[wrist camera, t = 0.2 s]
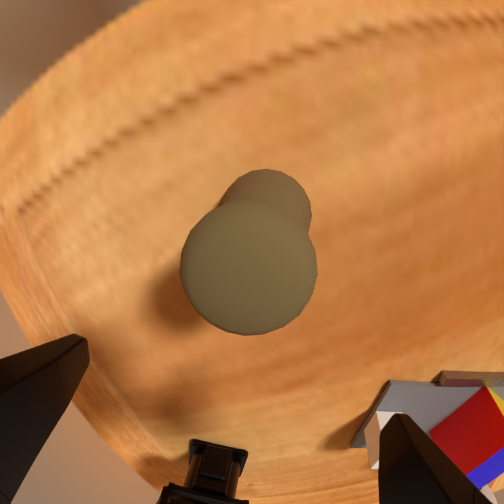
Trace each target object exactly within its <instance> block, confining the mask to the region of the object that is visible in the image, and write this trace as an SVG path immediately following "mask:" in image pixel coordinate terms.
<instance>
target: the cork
mask: <svg viewBox="0 0 504 504" xmlns="http://www.w3.org/2000/svg"><path fill="white" fill-rule="evenodd" d="M311 217H312V214H311V206H310V201H309V199H308V197H307V195H306V192H305V190H304V189H303V188H302V187H301V186H300V184H299V183H298V182H297V181H296V180H295V179H294V178H292V177H290V176H288V175H286V174H284V173H283V172H280V171H275V170H269V169H263V170H256V171H251V172H249V173H247V174H245V175H243V176H241V177H239V178H238V179H237V180H236V181H235V182H234V183H233V184H232V185H231V186H230V187H229V188H228V190H227V192H226V194H225V196H224V198H223V200H222V203H221V206H220V207H218V208H216V209H214V210H212V211H210V212H209V213H207V214H206V215H205V216H204V217H203V218H202V219H201V220H200V221H199V222H198V223H197V224H196V225H195V226H194V227H193V229H192V230H191V231H190V233H189V235H188V237H187V240H186V242H185V244H184V247H183V249H182V253H181V263H180V277H181V281H182V285H183V288H184V292H185V294H186V296H187V297H188V299H189V300H190V302H191V304H192V305H193V307H194V308H195V310H196V311H197V312H198V313H199V314H200V315H201V316H202V317H203V318H204V319H205V320H206V321H208V322H209V323H210V324H212V325H213V326H215V327H217V328H220V329H222V330H224V331H226V332H229V333H234V334H239V335H244V336H247V335H262V334H265V333H268V332H271V331H274V330H276V329H279V328H282V327H284V326H286V325H287V324H288V323H290V322H291V321H292V320H294V319H295V318H296V317H297V316H299V315H300V313H301V312H302V310H303V309H304V308H305V306H306V305H307V303H308V302H309V300H310V298H311V296H312V294H313V290H314V286H315V282H316V278H317V275H318V274H317V262H316V253H315V249H314V247H313V245H312V242H311V240H310V238H309V236H308V231H309V227H310V222H311Z"/></svg>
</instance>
